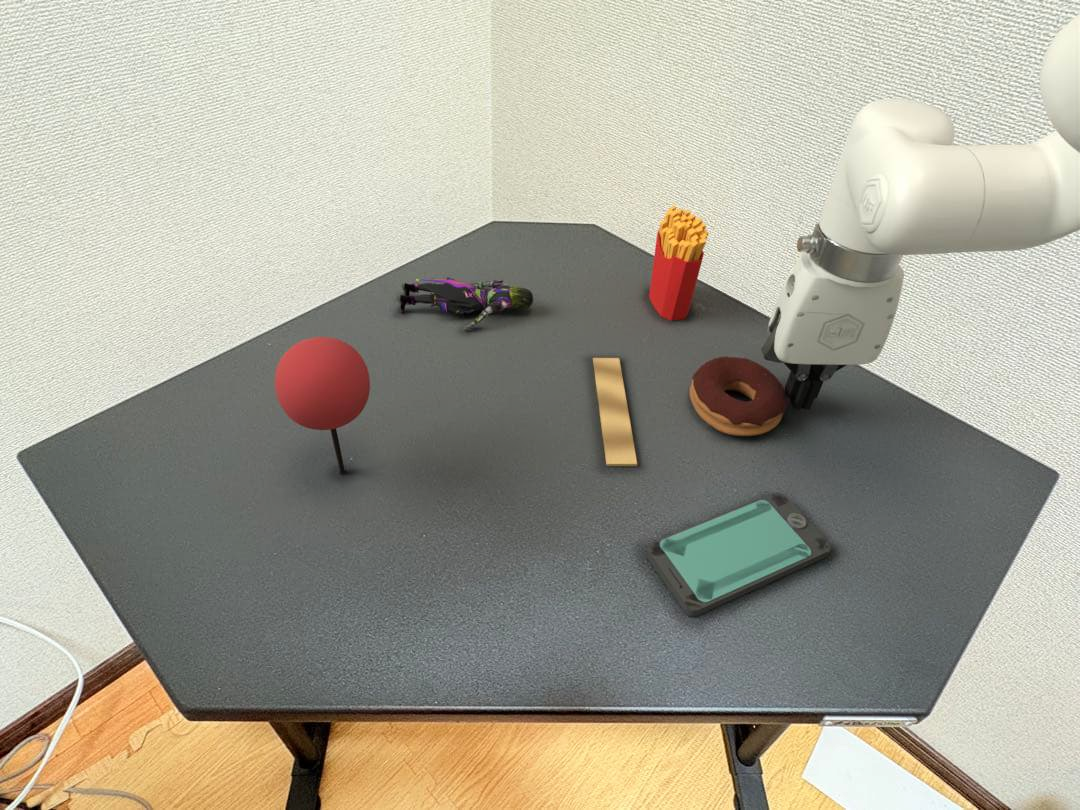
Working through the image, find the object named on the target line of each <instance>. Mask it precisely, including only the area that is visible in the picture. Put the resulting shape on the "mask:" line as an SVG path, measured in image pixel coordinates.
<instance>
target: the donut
mask: <svg viewBox="0 0 1080 810" xmlns="http://www.w3.org/2000/svg"><path fill="white" fill-rule="evenodd" d="M691 377H692V378H691V379H692V380H691V385H690V386H689V398H690V401H691V404H692V406H693V408H694V410H695V412H696V413H697V415H698V416H699V417H700V418H701V419H702V420H703V421H704V422H706V424H708V425H709V426H711V427H712V428H714V429H715V430H716V431H718V432H720V433H722V434H725V435H729V436H736V437H753V436H759V435H763V434H765V433H768V432H770V431H772V430H773V429H774V428H775V427H777V426H778V424H779V423H780V422H781V420H782V418H783V416H784V414H785V412H786V409H787V406H788V398H787V397H786V394H785V387H784V386H783V384H782V383H781V381H780V380H779V379H778V377H776V375H775V374H773V372H771V371H770V370H769V369H768V368H766V367H765V366H764V365H762V364H760V363H758V362H756V361H753V360H752V359H749V358H746V357H745V356H744V357H738V356H737V357H736V356H720V357H716V358H712V359H710V360H708V361H706V362H704V363H703V364H701V365H700V366H699V368H698V369H697V370H696V371H695V372H694V373H693V375H692V376H691ZM726 391H734V392H738V393H739V394H740V393H741V394H742V395H744V396H746V397H748V398H749V399H750V400H749V401H743V400H741V399H738V398H737V399H736V398H735V397H733V396H731V395H729V394H728V393H727V392H726Z"/></svg>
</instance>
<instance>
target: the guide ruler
mask: <svg viewBox="0 0 1080 810" xmlns="http://www.w3.org/2000/svg"><path fill="white" fill-rule="evenodd" d="M592 367H593V373H594V381H595V382H594V383H595V390H596V397H597V404H598V413H599V419H600V427H601V435H602V437H601V438H602V443H603V451H604V458H605V466H606V467H638V460H637V454H636V448H635V442H634V436H633V431H632V425H631V419H630V413H629V407H628V401H627V395H626V390H625V389H626V388H625V383H624V378H623V371H622V366H621V360H620V358H619V357H592Z"/></svg>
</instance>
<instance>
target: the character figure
mask: <svg viewBox="0 0 1080 810" xmlns="http://www.w3.org/2000/svg"><path fill="white" fill-rule="evenodd" d="M419 281H421V279H420V278H416V279H415V283H408V282H407V283H406V282H402V284H401V288H402V290H403V294H398V295H397V302H398V311H399V313H404V312H405V311H406V309H405V308H406V305H407V306H416V304H425V305H426V304H428V305H429V304H430V305H429V306H430V308H433V307H435V306H436V307H438V308H439V311H440V312H443V313H444V314H446V313H456V314H460V315H463V314H464V313H466V314H470V313H472V312H474V311H475V312H476V311H481V313H480V314H479V315H478V316H477V317H476V318H475V319H474V320H473V321H472V322H471V323H469V324H468V325H465V326H464V328H463V329H462V330H463V331H468V330H472V329H473V328H474V327H475V326H476V325H479V324H480V323H481V322H482V321H483V320H484V319H486V318H487V317H489V315H490V314H495V313H498V314H500V315H501V311H503V310H504V309H512V308H513V309H514V308H519V309H528V308H530V307H531V306H532V305H533V303H534V294H533V293H532V291H531V290H530V289H528V288H526V287H520V286H517V285H509V284H506V283H505V284H504V283H503V282H504V280H497V279H496V280H495V279H494V280H493V281H488V280H487V281H474V283H471V284H469V283H465V282H462V281H459V280H456V279H454V278H453V277H448V276H447V277H446V278H443V279H442V278H423V279H422V282H423V281H425V282H424V283H418V282H419ZM432 282H433V283H432ZM486 287H487V288H491V289H489V290H486V289H483V288H486ZM419 291H421V292H427V293H430V294H427V293H426V294H420V292H419ZM410 293H412V295H410ZM417 293H418V294H419V295H413V294H417Z"/></svg>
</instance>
